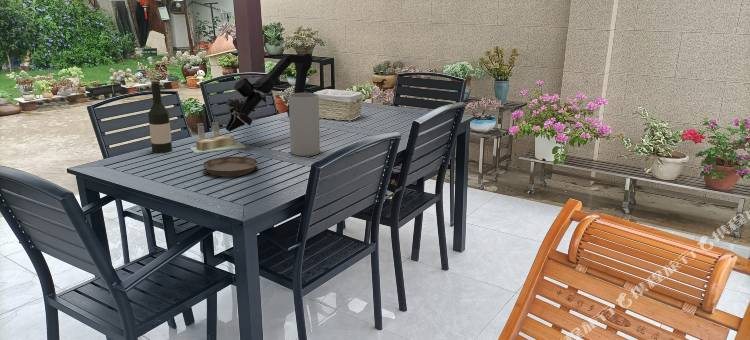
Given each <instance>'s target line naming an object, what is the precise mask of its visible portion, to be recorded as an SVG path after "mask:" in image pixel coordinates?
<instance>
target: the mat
mask: <svg viewBox="0 0 750 340" xmlns="http://www.w3.org/2000/svg"><path fill="white" fill-rule="evenodd" d="M246 147H247V146H245V145H244V144H243V143H242V142H240V141H237V142H235V141H234V145H230V146H225V147H220V148H215V149H210V150H205V151H201V150H198V149H196V146H191V147H189V149H190V150H191V151H192V152H193V154H195V155H197V154H205V153H214V152H221V151H223V152H224V151H230V150H231V151H233V150H241V149H246Z"/></svg>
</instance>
